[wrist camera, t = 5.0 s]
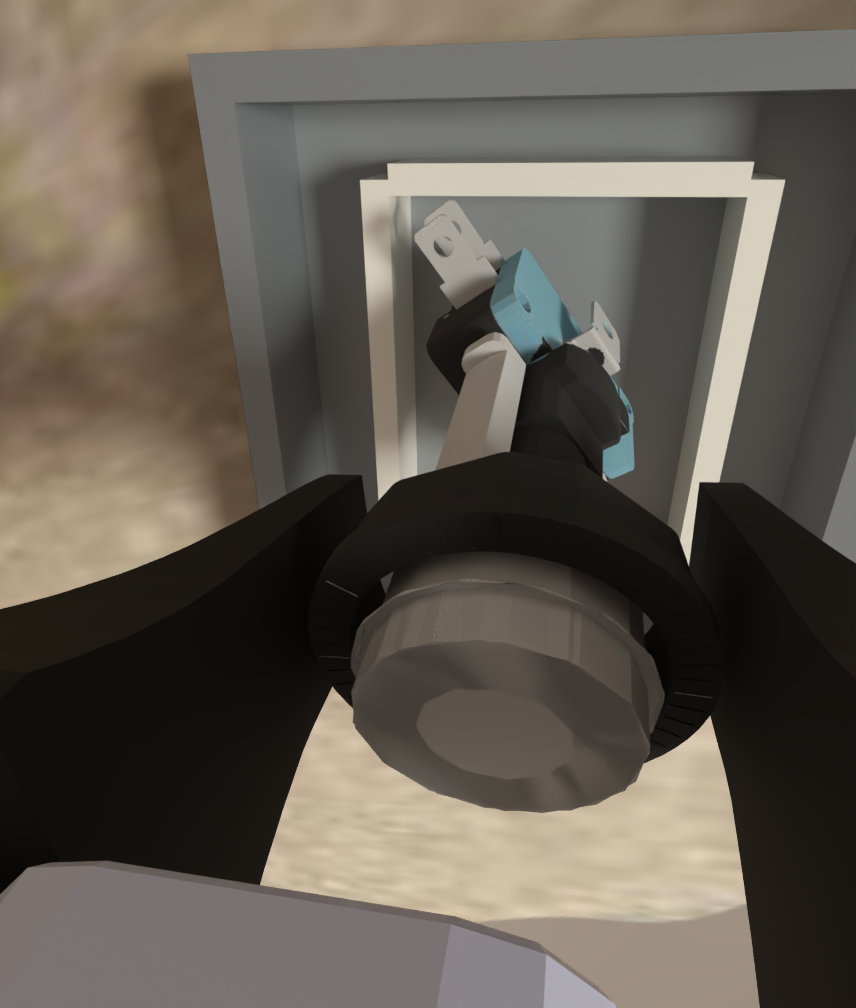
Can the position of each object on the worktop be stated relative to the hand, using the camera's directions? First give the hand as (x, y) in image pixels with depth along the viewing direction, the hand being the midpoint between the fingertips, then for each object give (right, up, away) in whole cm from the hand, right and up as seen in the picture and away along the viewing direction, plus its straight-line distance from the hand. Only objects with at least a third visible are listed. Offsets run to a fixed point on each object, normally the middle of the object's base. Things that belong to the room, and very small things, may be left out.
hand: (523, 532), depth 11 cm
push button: (+1, +5, +4) cm, 6 cm away
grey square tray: (+2, +4, +7) cm, 8 cm away
